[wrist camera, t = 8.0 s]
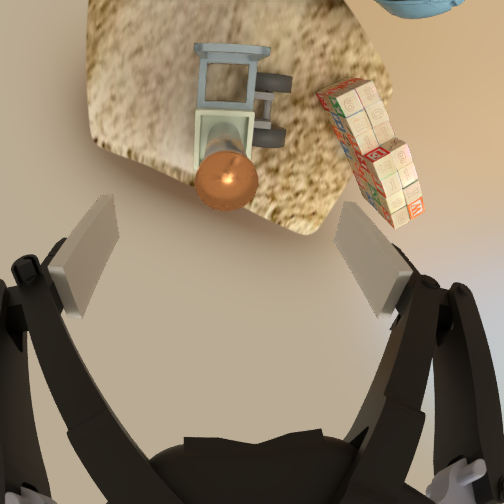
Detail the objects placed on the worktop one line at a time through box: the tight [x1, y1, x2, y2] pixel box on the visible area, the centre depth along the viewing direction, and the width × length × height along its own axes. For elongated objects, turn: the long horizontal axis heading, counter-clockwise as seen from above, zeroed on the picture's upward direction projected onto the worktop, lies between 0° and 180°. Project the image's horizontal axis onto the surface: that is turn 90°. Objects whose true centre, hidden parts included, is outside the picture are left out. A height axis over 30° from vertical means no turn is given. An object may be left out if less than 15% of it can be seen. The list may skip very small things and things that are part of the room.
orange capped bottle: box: [195, 122, 258, 211], centre depth 28 cm, size 5×5×17 cm
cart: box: [194, 43, 293, 148], centre depth 32 cm, size 15×12×17 cm
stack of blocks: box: [316, 78, 425, 229], centre depth 39 cm, size 21×6×12 cm, turn 31°
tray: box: [194, 107, 255, 171], centre depth 33 cm, size 8×7×3 cm
